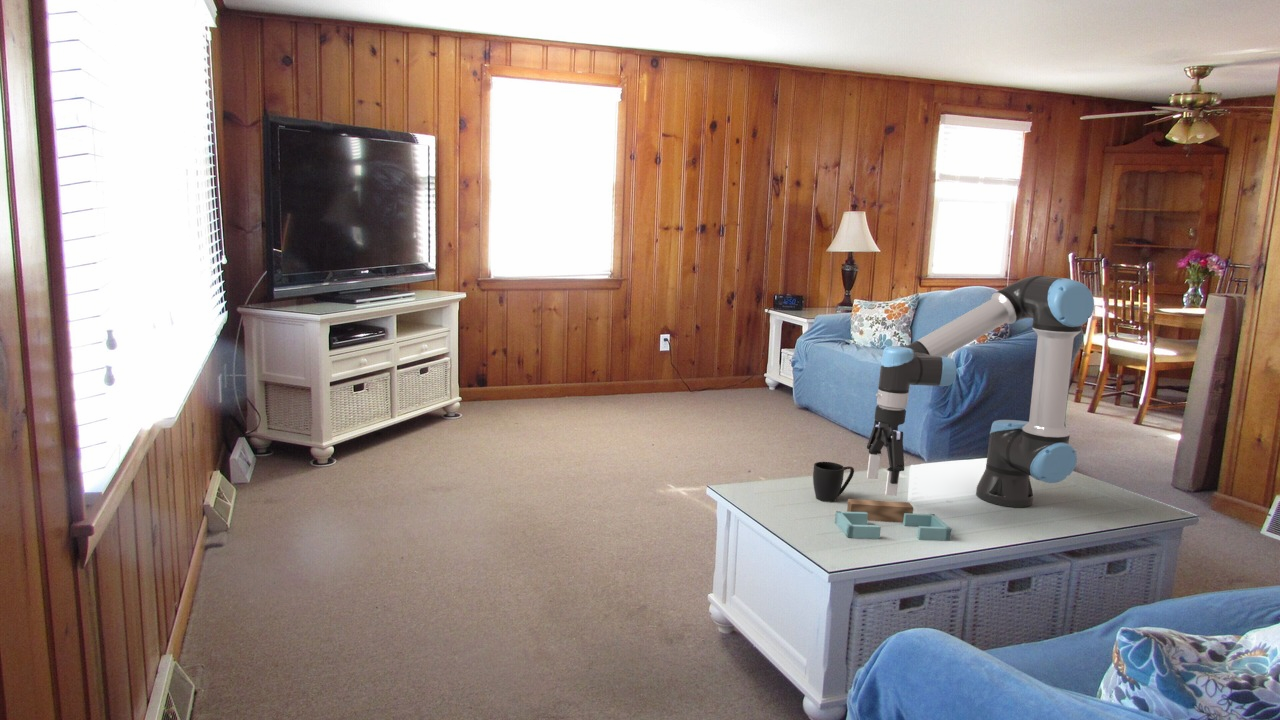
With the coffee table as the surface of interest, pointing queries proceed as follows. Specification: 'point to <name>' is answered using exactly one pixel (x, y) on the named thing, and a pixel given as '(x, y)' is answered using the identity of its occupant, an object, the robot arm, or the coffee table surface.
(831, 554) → the coffee table surface
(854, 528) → the cap
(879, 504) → the slat
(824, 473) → the mug
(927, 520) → the teal staple arch
